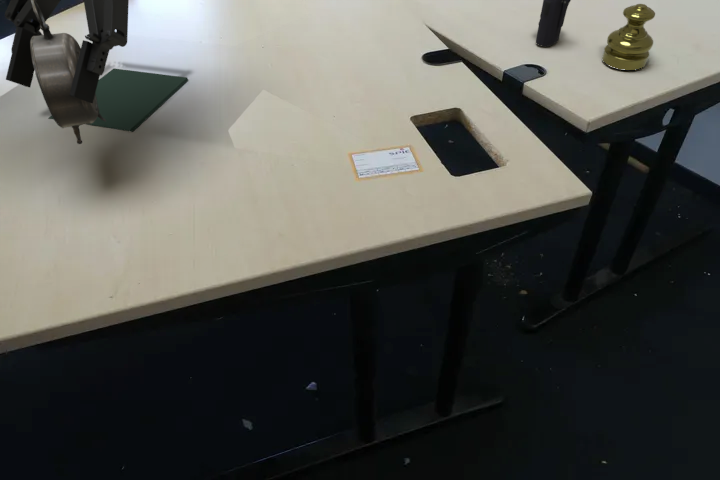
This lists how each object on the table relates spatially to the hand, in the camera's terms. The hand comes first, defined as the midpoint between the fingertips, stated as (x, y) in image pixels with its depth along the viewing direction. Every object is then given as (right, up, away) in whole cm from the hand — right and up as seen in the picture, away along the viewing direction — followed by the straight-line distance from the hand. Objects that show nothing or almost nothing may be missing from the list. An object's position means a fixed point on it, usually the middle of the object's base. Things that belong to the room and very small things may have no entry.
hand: (48, 91), depth 64 cm
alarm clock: (+1, -3, +7) cm, 7 cm away
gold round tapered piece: (+85, +14, +31) cm, 91 cm away
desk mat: (-4, +7, +29) cm, 30 cm away
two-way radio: (+74, +20, +38) cm, 85 cm away
